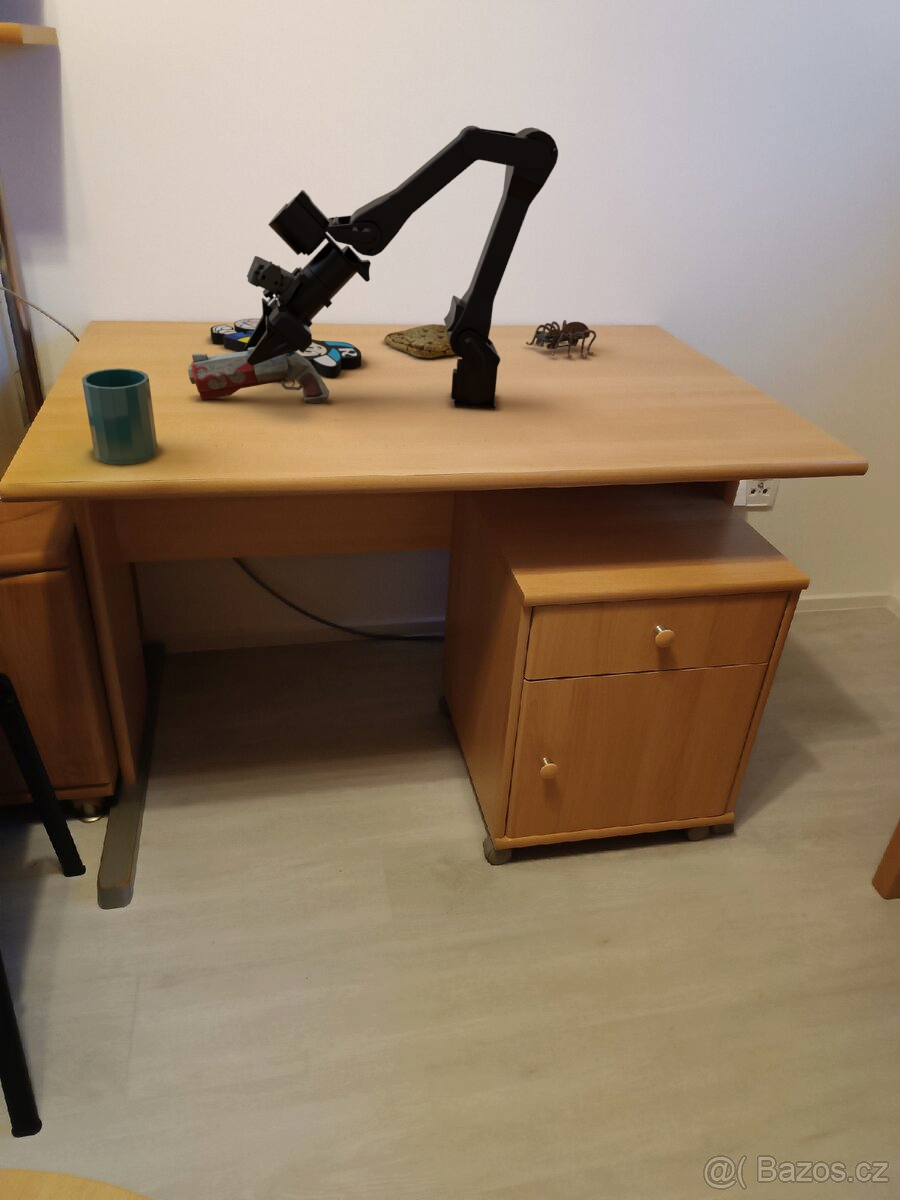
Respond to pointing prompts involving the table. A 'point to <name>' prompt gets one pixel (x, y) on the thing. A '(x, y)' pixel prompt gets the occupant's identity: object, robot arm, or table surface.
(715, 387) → the table surface
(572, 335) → the toy
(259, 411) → the table surface
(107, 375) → the pen holder
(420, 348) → the pastry
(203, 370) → the toy gun
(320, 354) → the toy
